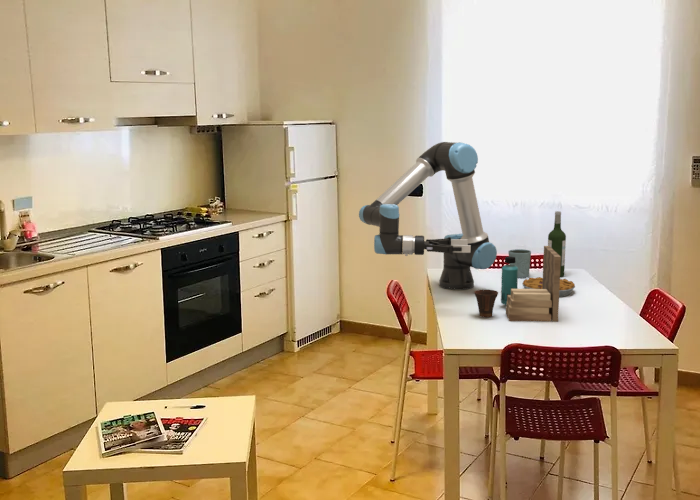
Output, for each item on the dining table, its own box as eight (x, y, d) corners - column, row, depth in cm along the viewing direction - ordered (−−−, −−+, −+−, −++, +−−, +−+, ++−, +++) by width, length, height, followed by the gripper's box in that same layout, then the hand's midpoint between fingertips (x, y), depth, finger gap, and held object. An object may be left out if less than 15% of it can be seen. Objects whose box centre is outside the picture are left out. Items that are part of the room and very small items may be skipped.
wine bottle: (545, 273, 351) (548, 210, 345) (562, 274, 350) (565, 210, 344) (547, 277, 343) (550, 212, 338) (565, 277, 342) (568, 212, 337)
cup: (484, 319, 273) (483, 292, 272) (469, 317, 281) (469, 290, 280) (503, 317, 277) (503, 290, 276) (488, 314, 285) (488, 288, 284)
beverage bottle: (518, 305, 295) (519, 255, 291) (516, 309, 288) (517, 258, 285) (501, 304, 297) (503, 254, 293) (499, 308, 291) (500, 257, 287)
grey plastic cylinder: (532, 278, 341) (533, 253, 338) (510, 279, 341) (510, 253, 339) (527, 274, 351) (528, 248, 348) (505, 274, 351) (506, 249, 349)
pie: (524, 284, 330) (525, 273, 330) (576, 288, 323) (576, 276, 322) (518, 296, 310) (519, 284, 309) (573, 300, 303) (574, 288, 302)
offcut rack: (501, 305, 295) (503, 245, 290) (546, 305, 294) (549, 245, 289) (509, 320, 273) (511, 256, 269) (558, 321, 272) (560, 256, 267)
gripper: (413, 248, 303) (466, 249, 302) (414, 260, 279) (471, 261, 277) (413, 230, 302) (466, 231, 300) (414, 240, 278) (472, 241, 276)
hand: (469, 245), depth 289 cm, fingers open, 13 cm apart
